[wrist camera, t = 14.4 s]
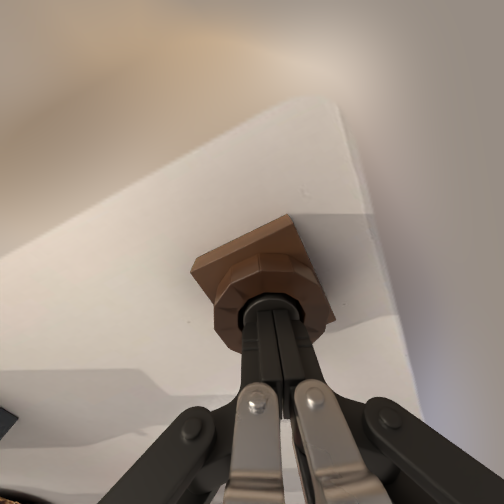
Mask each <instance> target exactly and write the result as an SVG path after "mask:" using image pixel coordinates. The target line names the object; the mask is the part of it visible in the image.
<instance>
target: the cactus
mask: <svg viewBox="0 0 504 504" xmlns="http://www.w3.org/2000/svg"><path fill="white" fill-rule="evenodd" d="M0 504H20V503H18V502H15V501H10V500H7V499H4V498H1V497H0Z"/></svg>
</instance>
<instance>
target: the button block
mask: <svg viewBox="0 0 504 504" xmlns="http://www.w3.org/2000/svg"><path fill="white" fill-rule="evenodd" d="M190 273H191V274H192V276H193V277H194V279H195V280H196V281H197V283H198V284H199V285H200V287H201V288H202V289H203V291H204V292H205V294H206V295H207V296H208V298H209V299H210V300H211V302H212V303H213V304H214V330H215V331H216V333H217V334H218V335H219V336H220V338H221V339H222V340H223V342H224V343H225V344H226V345H227V347H228V348H230V349H231V350H233V351H235V352H238V353H240V354H242V330H243V329H244V324H243V305H244V304H245V303H246V302H247V300H248V299H250V298H252V297H255V296H257V295H259V294H262V293H264V292H272V293H286V294H287V295H289V296H291V297H293V298H294V300H295V303H296V306H297V309H298V312H299V318H300V319H299V320H300V321H301V322H302V323H303V324H304V325H305V326H306V328H307V331H308V334H309V337H310V339H311V342H312V344H313V343H314V342H315V341H316V340H317V339H318V338H319V337H320V336H321V335H322V334H323V333H324V332H325V328H326V324H328V323H331V322H333V321H336V318H335V316H334V314H333V311H332V309H331V307H330V305H329V302H328V300H327V298H326V296H325V293H324V291H323V289H322V287H321V284H320V282H319V280H318V278H317V275H316V273H315V271H314V268H313V266H312V264H311V262H310V259H309V257H308V255H307V253H306V250H305V248H304V246H303V244H302V241H301V239H300V237H299V235H298V232H297V230H296V228H295V226H294V223H293V222H292V220H291V219H290V217H289V216H288V214H286V215H284V216H282V217H280V218H278V219H276V220H274V221H272V222H270V223H268V224H266V225H264V226H261V227H259V228H257V229H255V230H253V231H251V232H249V233H247V234H245V235H243V236H241V237H239V238H237V239H235V240H233V241H231V242H229V243H227V244H225V245H222V246H220V247H218V248H216V249H214V250H212V251H210V252H208V253H206V254H204V255H202V256H200V257H198V258H196V260H195V262H194V265H193V267H192V269H191V271H190Z"/></svg>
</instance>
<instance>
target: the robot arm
mask: <svg viewBox="0 0 504 504" xmlns="http://www.w3.org/2000/svg"><path fill="white" fill-rule="evenodd" d="M282 410H283V417H284V419H290V422H291V428H292V444H293V449H294V454H295V458H296V463H297V467H298V472H299V476H300V481H301V485H302V490H303V495H304V499H305V504H504V479H502V478H501V477H499V476H498V475H497V474H495V473H494V472H492V471H491V470H490V469H488V468H487V467H485V466H484V465H483V464H481V463H480V462H478V461H477V460H475V459H474V458H473V457H471V456H470V455H469V454H467V453H466V452H464V451H463V450H462V449H460V448H459V447H457V446H456V445H455V444H453V443H452V442H450V441H449V440H448V439H446V438H445V437H443V436H442V435H441V434H439V433H438V432H436V431H435V430H434V429H432V428H431V427H429V426H428V425H427V424H425V423H424V422H422V421H421V420H420V419H418V418H417V417H415V416H414V415H413V414H411V413H410V412H408V411H407V410H406V409H404V408H403V407H401V406H400V405H399V404H397V403H396V402H394V401H392V400H390V399H387V398H384V397H374V398H371V399H369V400H368V401H367V402H366V404H364V403H361V402H357V401H354V400H350V399H347V398H344V397H342V396H340V395H338V394H336V393H335V392H334V391H333V390H332V389H331V388H330V387H329V386H328V385H327V383H326V382H325V380H324V378H323V375H322V372H321V369H320V366H319V363H318V360H317V357H316V354H315V351H314V348H313V346H312V342H311V339H310V337H309V334H308V331H307V328H306V326H305V325H304V324H303V323H302V322H301V321H300V320H290V317H289V313H288V310H287V309H284V310H272V311H271V310H267V311H257V322H251V323H246V325H245V327H244V329H243V330H242V360H241V386H240V390H239V392H238V394H237V396H236V397H235V398H234V399H233V400H232V401H231V402H230V403H228V404H227V405H225V406H223V407H221V408H218V409H216V410H214V411H211V412H210V411H209V410H208V409H207V408H204V407H201V406H195V407H191V408H189V409H187V410H185V411H184V412H182V413H181V414H180V415H179V416H178V417H177V418H176V419H175V420H174V421H173V422H172V423H171V425H170V426H169V427H168V428H167V429H166V430H165V431H164V432H163V433H162V434H161V435H160V436H159V438H158V439H157V440H156V441H155V442H154V443H153V444H152V445H151V446H150V447H149V448H148V449H147V450H146V452H145V453H144V454H143V455H142V456H141V457H140V458H139V459H138V460H137V461H136V462H135V463H134V465H133V466H132V467H131V468H130V469H129V470H128V471H127V472H126V473H125V474H124V475H123V476H122V477H121V479H120V480H119V481H118V482H117V483H116V484H115V485H114V486H113V487H112V488H111V489H110V490H109V492H108V493H107V494H106V495H105V496H104V497H103V498H102V499H101V500H100V501H99V502H98V503H97V504H210V502H211V501H212V499H213V498H214V496H215V494H216V493H217V491H218V489H219V488H220V486H221V485H223V484H225V483H226V482H227V483H226V486H225V491H224V498H223V504H285V499H284V486H283V477H282V460H281V442H280V419H282Z"/></svg>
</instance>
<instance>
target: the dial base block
mask: <svg viewBox="0 0 504 504" xmlns="http://www.w3.org/2000/svg"><path fill="white" fill-rule="evenodd" d="M17 420H18V418H16V417H15V416H13V415H12V414H10V413H8V412H7V411H5V410H3V409H2V408H0V440H1V439H2V438H3V436H4V435H5V434H6V433H7V432H8V431H9V429H10V428H11V427H12V426H13V425H14V423H15V422H16V421H17Z"/></svg>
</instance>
